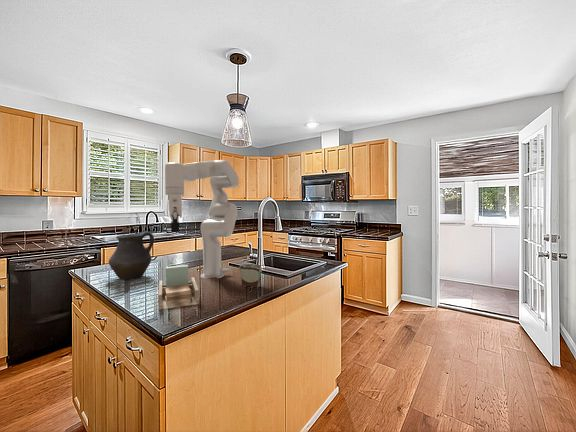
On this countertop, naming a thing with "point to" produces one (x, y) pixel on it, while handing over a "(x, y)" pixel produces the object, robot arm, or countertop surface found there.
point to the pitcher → (131, 256)
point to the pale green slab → (177, 275)
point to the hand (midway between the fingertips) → (175, 231)
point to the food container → (250, 275)
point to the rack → (193, 301)
